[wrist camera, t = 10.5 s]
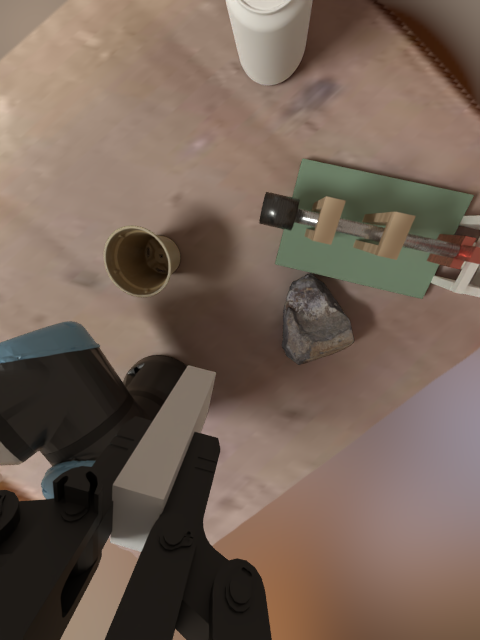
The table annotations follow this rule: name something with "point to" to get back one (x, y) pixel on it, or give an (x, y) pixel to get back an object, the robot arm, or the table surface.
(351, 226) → the rod
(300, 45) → the beverage can
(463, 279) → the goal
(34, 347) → the robot arm
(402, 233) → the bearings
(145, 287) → the flower pot
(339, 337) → the rock
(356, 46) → the table surface
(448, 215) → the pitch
